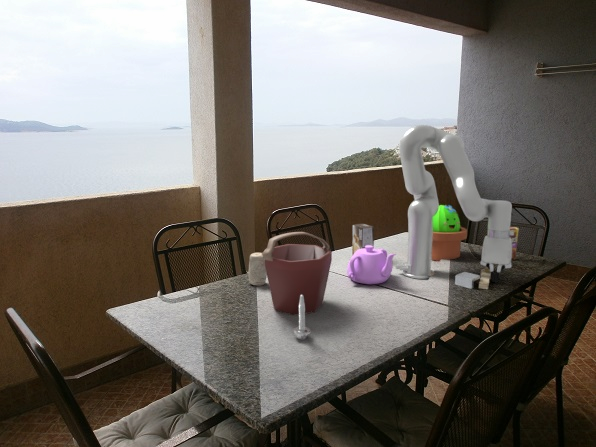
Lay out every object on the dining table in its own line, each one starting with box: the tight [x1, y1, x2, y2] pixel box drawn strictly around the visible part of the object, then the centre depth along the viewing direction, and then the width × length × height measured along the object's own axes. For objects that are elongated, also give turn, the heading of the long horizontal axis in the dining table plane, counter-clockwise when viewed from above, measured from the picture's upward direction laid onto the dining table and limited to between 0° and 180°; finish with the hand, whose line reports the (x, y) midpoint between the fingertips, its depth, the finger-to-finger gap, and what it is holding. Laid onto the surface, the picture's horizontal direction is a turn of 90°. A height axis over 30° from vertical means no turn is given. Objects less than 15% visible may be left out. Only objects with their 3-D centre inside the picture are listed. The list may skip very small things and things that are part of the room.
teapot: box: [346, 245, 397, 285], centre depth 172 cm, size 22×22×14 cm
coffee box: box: [351, 223, 375, 257], centre depth 201 cm, size 9×6×16 cm
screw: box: [293, 295, 311, 340], centre depth 124 cm, size 13×5×5 cm
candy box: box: [509, 226, 520, 260], centre depth 199 cm, size 9×4×15 cm, turn 98°
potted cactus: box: [431, 204, 468, 262], centre depth 205 cm, size 22×22×25 cm
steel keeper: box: [454, 271, 481, 289], centre depth 165 cm, size 6×6×4 cm
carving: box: [247, 252, 268, 287], centre depth 170 cm, size 6×8×12 cm
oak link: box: [478, 266, 491, 290], centre depth 168 cm, size 18×4×3 cm, turn 153°
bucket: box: [261, 231, 333, 316], centre depth 148 cm, size 24×22×25 cm
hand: (494, 280), depth 167 cm, fingers closed
